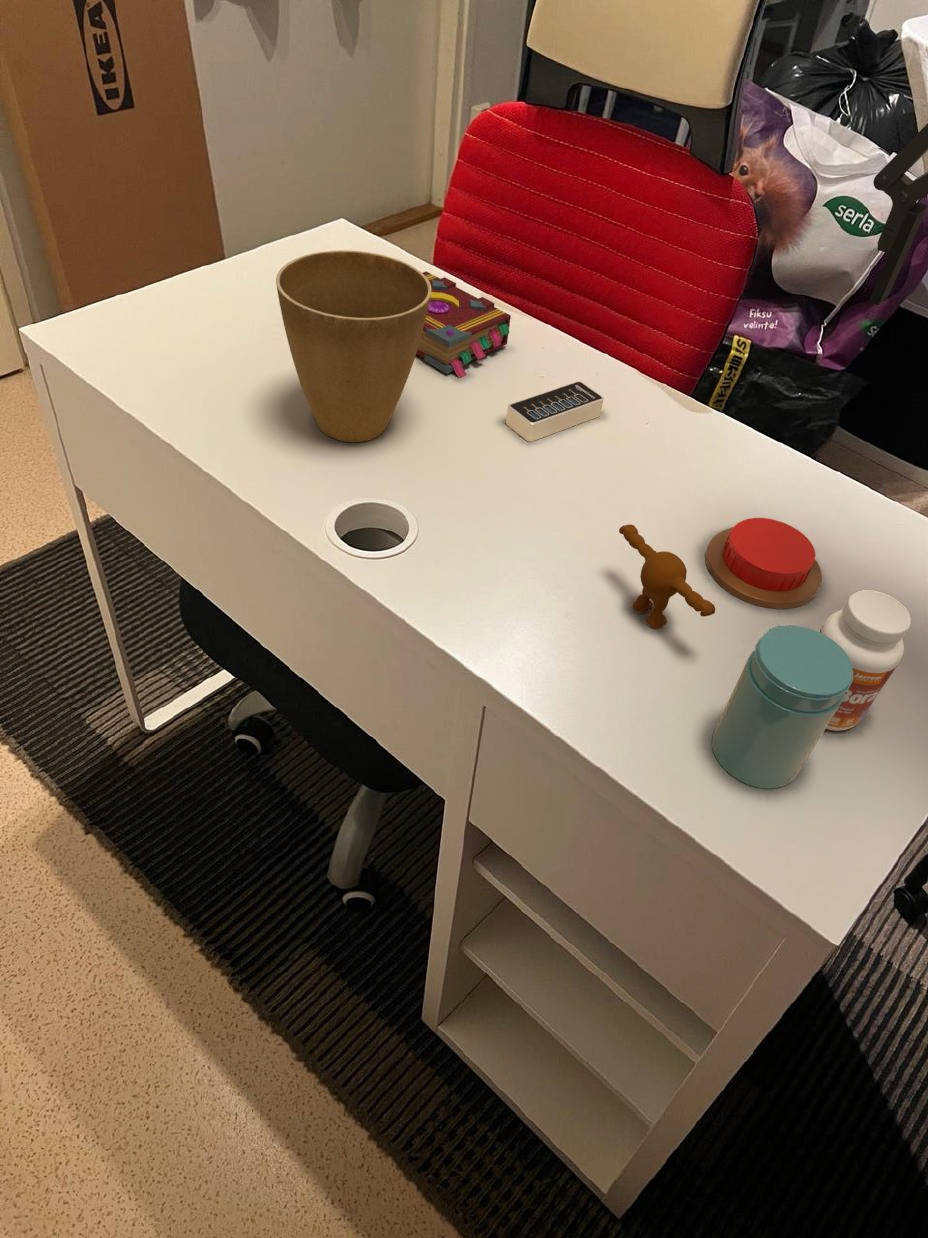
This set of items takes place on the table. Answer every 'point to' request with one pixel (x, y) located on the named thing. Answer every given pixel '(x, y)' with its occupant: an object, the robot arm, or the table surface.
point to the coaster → (755, 594)
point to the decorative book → (459, 327)
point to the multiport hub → (554, 411)
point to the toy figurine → (662, 581)
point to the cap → (769, 554)
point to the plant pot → (352, 335)
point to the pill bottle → (867, 649)
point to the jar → (781, 705)
